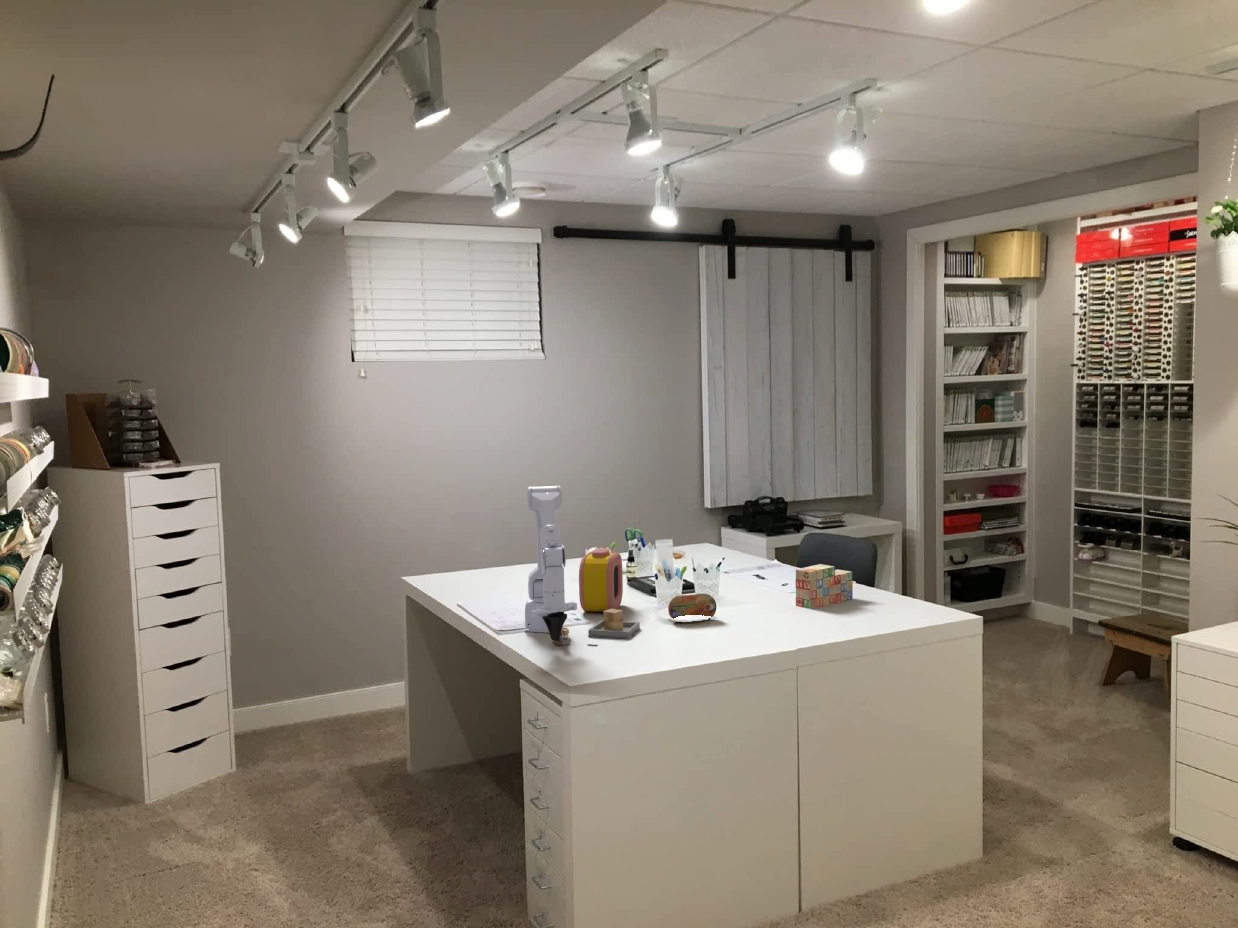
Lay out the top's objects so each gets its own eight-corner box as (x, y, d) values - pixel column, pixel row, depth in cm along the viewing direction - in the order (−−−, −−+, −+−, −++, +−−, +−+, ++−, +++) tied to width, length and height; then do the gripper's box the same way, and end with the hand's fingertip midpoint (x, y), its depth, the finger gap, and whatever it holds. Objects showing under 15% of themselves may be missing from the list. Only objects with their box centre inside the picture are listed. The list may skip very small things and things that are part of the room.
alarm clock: (612, 616, 316) (611, 555, 314) (578, 615, 318) (576, 554, 317) (624, 603, 334) (622, 545, 332) (591, 602, 336) (590, 545, 335)
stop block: (603, 631, 295) (603, 611, 294) (612, 628, 298) (611, 608, 298) (614, 633, 292) (614, 612, 292) (623, 630, 296) (622, 610, 295)
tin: (670, 624, 305) (670, 597, 304) (667, 622, 308) (666, 594, 307) (717, 620, 309) (716, 593, 308) (713, 617, 312) (712, 591, 311)
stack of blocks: (838, 596, 339) (837, 560, 338) (853, 599, 334) (853, 562, 333) (795, 606, 326) (795, 568, 325) (810, 609, 321) (810, 571, 320)
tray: (588, 636, 292) (588, 629, 291) (601, 626, 303) (601, 620, 303) (628, 638, 288) (628, 632, 288) (639, 628, 300) (639, 622, 299)
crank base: (550, 645, 283) (549, 641, 283) (556, 640, 288) (556, 636, 288) (594, 647, 279) (594, 643, 279) (599, 643, 284) (599, 639, 284)
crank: (554, 637, 286) (553, 623, 285) (566, 636, 287) (566, 622, 286) (559, 645, 277) (559, 631, 276) (572, 644, 277) (572, 630, 277)
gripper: (542, 597, 266) (543, 647, 267) (583, 588, 276) (584, 637, 277) (525, 593, 271) (527, 642, 272) (567, 585, 281) (568, 633, 282)
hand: (555, 639), depth 275 cm, fingers closed
